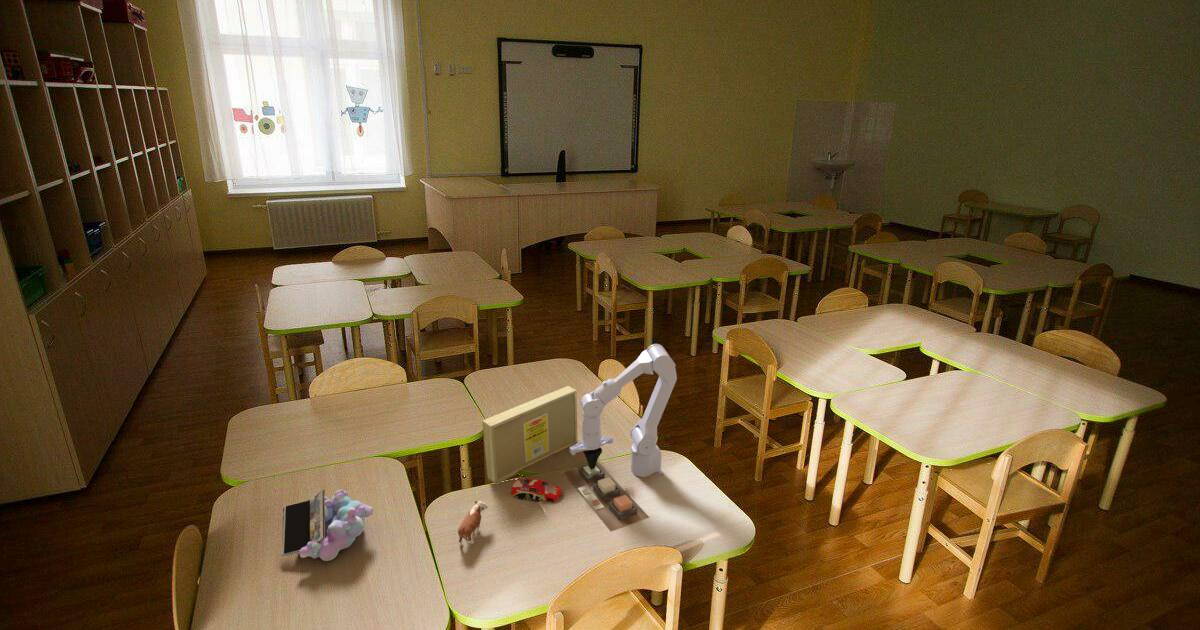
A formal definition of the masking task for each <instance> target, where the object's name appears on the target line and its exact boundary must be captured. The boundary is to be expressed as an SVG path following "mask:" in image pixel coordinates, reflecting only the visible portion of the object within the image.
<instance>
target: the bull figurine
mask: <svg viewBox="0 0 1200 630" xmlns="http://www.w3.org/2000/svg"><path fill="white" fill-rule="evenodd" d="M474 504H475V505H474V506H472V508H471V509H470V510H469V511H468V513H467V514H466V515H465V516H464V519H463V520H462V522H461V524H460V526H459V527H458V529H457V534H458V536H459V540H458V543H459V547H463V546H464V544H463V539H464V540H465V543H466V544H467V545H469V544H471V545H473V544H475V541H474V540H473V539H472V534H473V532H475V533H477V534H480V533H481V530H480V524H481V521H482V514H481V513H482V512H483V511H485V510H487V509H488V508H489V505H488V504H486V502H484V501H482V500H479V501H478V500H475V501H474Z"/></svg>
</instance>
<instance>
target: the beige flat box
mask: <svg viewBox="0 0 1200 630" xmlns="http://www.w3.org/2000/svg"><path fill="white" fill-rule="evenodd" d="M577 394H578V393H577V389H575V388H573V387H571V386H569V385H566V386H564V387H562V388H559V389H556V390H555V391H552V392H550V393H547V394H544V395H542V396H539V397H537V398H535V399H531V400H529V401H527V402H523V403H521V404H519V405H516V406H515V407H512V408H509V409H507V410H505V411H502V412H500V413H498V414H495V415H493V416H490V417H488V418H485V419H483V420H482V431H483V443H484V454H485V462H486V463H485V464H486V475H487V479H488V480H489V481H490V482H492V483H493V484H494V485H497V483H498V484H500V483H502V482H504V481H505V480H508V479H509V478H512V477H514V476H515V475H517V474H519V473H520V472H519V471H521V470H523V469H525V467H526V468H527V467H528V466H532V465H534V464H535V463H537V462H539V461H542V460H543V459H546V458H547V457H549V456H552V455H553V454H556V453H558V452H560V451H562V450H564V449H566V448H570V447H572V446H574V445H576V444H577V443H579V441H578V407H577V406H578V405H577V404H578V402H577V401H578V396H577Z"/></svg>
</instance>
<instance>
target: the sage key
mask: <svg viewBox="0 0 1200 630" xmlns="http://www.w3.org/2000/svg"><path fill="white" fill-rule="evenodd" d="M583 471H584V472H585V474H586V475H587V476H588V477H589V476H592V475H595V474H598V473H600V470H599V469H598V468H597V467H596V466H595V468H594V469H590V467H589V466H586V467H583Z"/></svg>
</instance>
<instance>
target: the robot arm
mask: <svg viewBox="0 0 1200 630" xmlns="http://www.w3.org/2000/svg"><path fill="white" fill-rule="evenodd" d="M676 366H677V365H676V363H675V362H674V360H673V359H672V357H670V354H669V353H668V351H667V350H666V349H665V347H664V346H663V345H661V344H660V343H659V344H658V343H653V344H651V345H650V346H648V347H647V349H644V350H643V351H642V352H641V353H640V355H638V357H637V358H636V359H635V360H634V361H633V362H632V363H631V364H630V365H629V366H628V367H626V368H625V369H624V370H623V371H622V372H621V373H619V375H618V376H617V377H615V378H608V379H607V380H603V381H602V382H601V385H599V386H598V387H597V388H596V389H594V390H591V392H589V393H586V394H584V395H583V396H582V397H581V399H580V400H579V401H580V402H579V403H580V405H581V407H582V418H581V421H582V426H581V427H582V428H581V429H582V437H581V438H582V440H580V442H579V441H578V442H577V443H575V444H573V445H571V446H569V453H570V454H571V456H575V455H576V454H577V453H580V452H583V454H584V456H585V459H586V461H587V465H588V466H589V467H590V469H594V468H595V466H596V463H597V462H598V460H599V458H600V456H601V454H603V449H602V447H603V446H604V445H607V444H610V445H612V444H614V437H612V435H611V434H610V435H606V436H605V435H604V436H601V431H602V430H601V425H602V424H601V423H602V421H601V420H602V419H601V415H602V413H603V410H604V408H606V406H607V405H608V404H609V403H610V402H612V401H613V400H614V399H616V398H617V397H618V396H619V395H621V394H622V393H621V392H622V389H623V387H625V386H626V385H628V384H630V383H631V382H632V381H634V380H635V379H637V378H638V377H640V376H641V375H642V374H646V375H652V376H653V375H654V372H655V374H657V375H658V379H657V381H656V384H655V385H654V388H653V391H652V393H651V396H650V398H649V400H648V403H647V406H646V409H645V410H644V413H643V415H642V418H640V419H638V420H637V422H636V424H635V425H633V426H632V428H631V429H630V431H629V432H630V434H629V435H630V438H631V440H632V441H633V442H632V444H631V455H630V457H631V458H630V471H631V473H632V474H633V475H635V477H636V476H637V477H639V478H640V477H641V478H643V477H644V478H645V477H649V476H650V475H652V474H654V473H658V474H659V475H663V472H662V471H661V470H662V452H661V449H660V448H659V446H658V445H657V439H658V426H659V423H660V421H661V419H662V416H663V414H664V411H665V408H666V407H667V404H668V402H669V398H671V397H670V396H671V395H672V391H673V390H674V387H675V385H676V383H677V379H678V377H677V376H678V375H677V370H676Z"/></svg>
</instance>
